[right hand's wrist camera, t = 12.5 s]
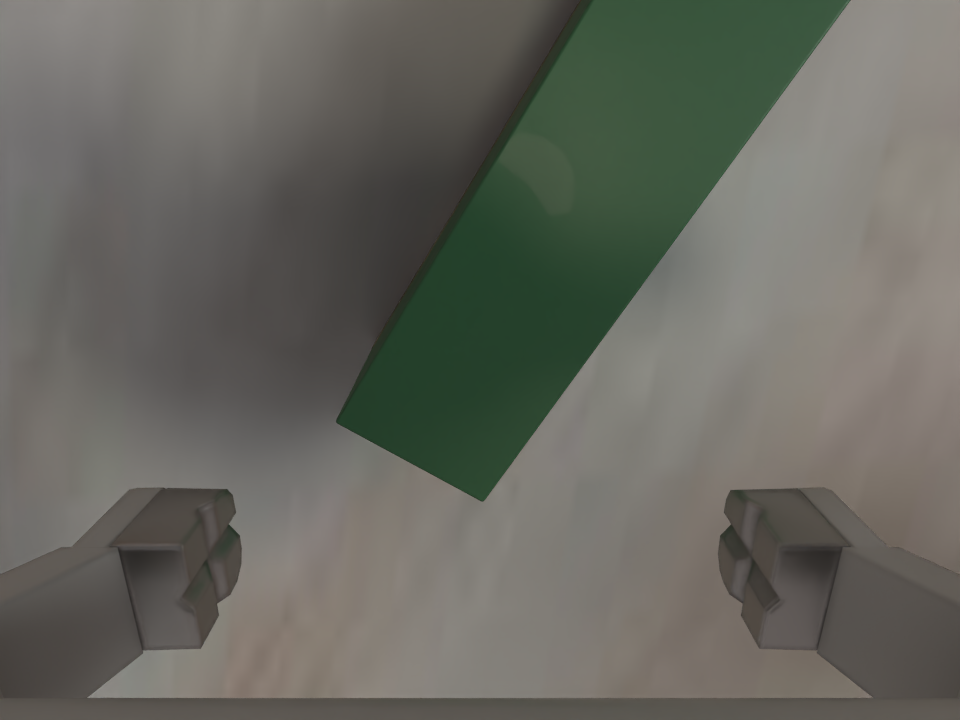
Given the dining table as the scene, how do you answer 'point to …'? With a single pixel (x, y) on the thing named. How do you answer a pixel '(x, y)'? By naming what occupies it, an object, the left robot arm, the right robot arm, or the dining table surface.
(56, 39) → the dining table surface
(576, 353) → the elongated green cuboid
